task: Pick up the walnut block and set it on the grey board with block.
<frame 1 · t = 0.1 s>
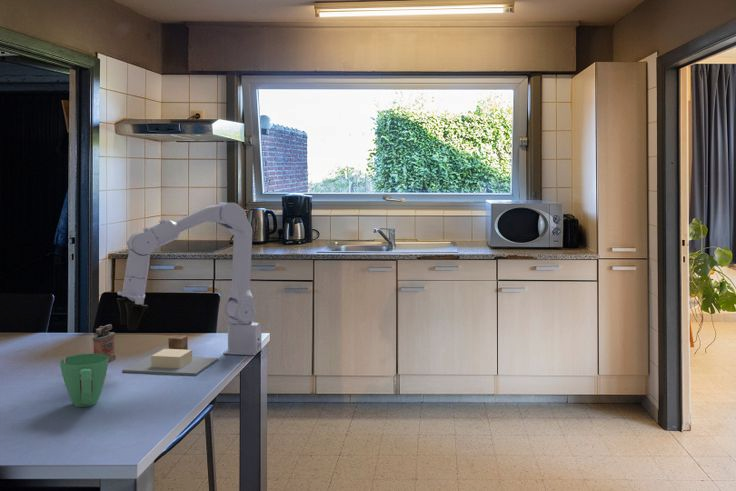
hand: (128, 327, 177), 11 cm above the table, tool pointing down, fingers open, 7 cm apart
walnut block: (178, 354, 192), on the table
grey board with block: (172, 365, 179), on the table
mug: (86, 407, 145), on the table
lighter: (104, 362, 182), on the table
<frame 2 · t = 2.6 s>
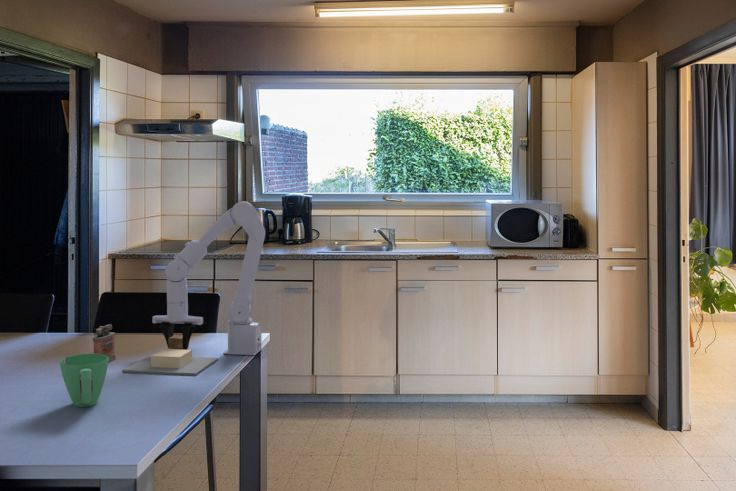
hand: (178, 348, 192), 2 cm above the table, tool pointing down, fingers closed on walnut block, 4 cm apart
walnut block: (178, 353, 192), on the table, touching gripper
everything else where it was.
when the fingers open (6 cm above the table, at t = 6.6 s): walnut block stays where it is, resting on grey board with block.
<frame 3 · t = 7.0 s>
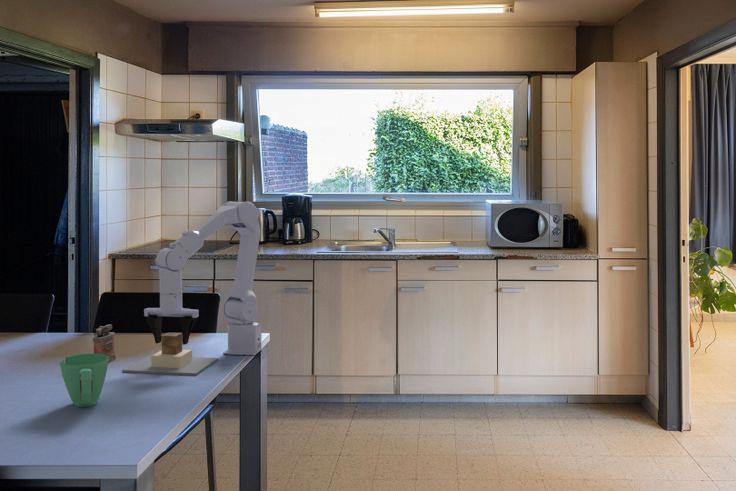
hand: (171, 343, 178), 6 cm above the table, tool pointing down, fingers open, 7 cm apart
walnut block: (172, 352, 178), point 4 cm above the table, touching grey board with block
everything else where it was.
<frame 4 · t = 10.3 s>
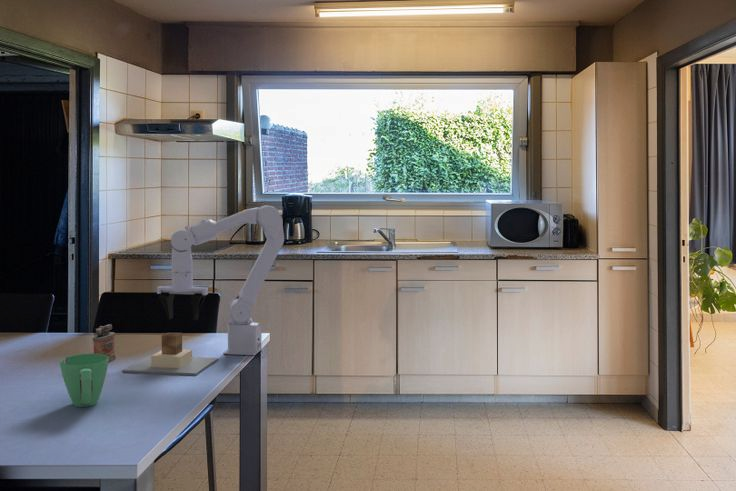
hand: (182, 319, 190), 10 cm above the table, tool pointing down, fingers open, 7 cm apart
nothing on the table moved.
at the end: walnut block 0.1 cm from the grey board with block (horizontally); walnut block point 3.6 cm above the table; walnut block tilted 0° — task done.
